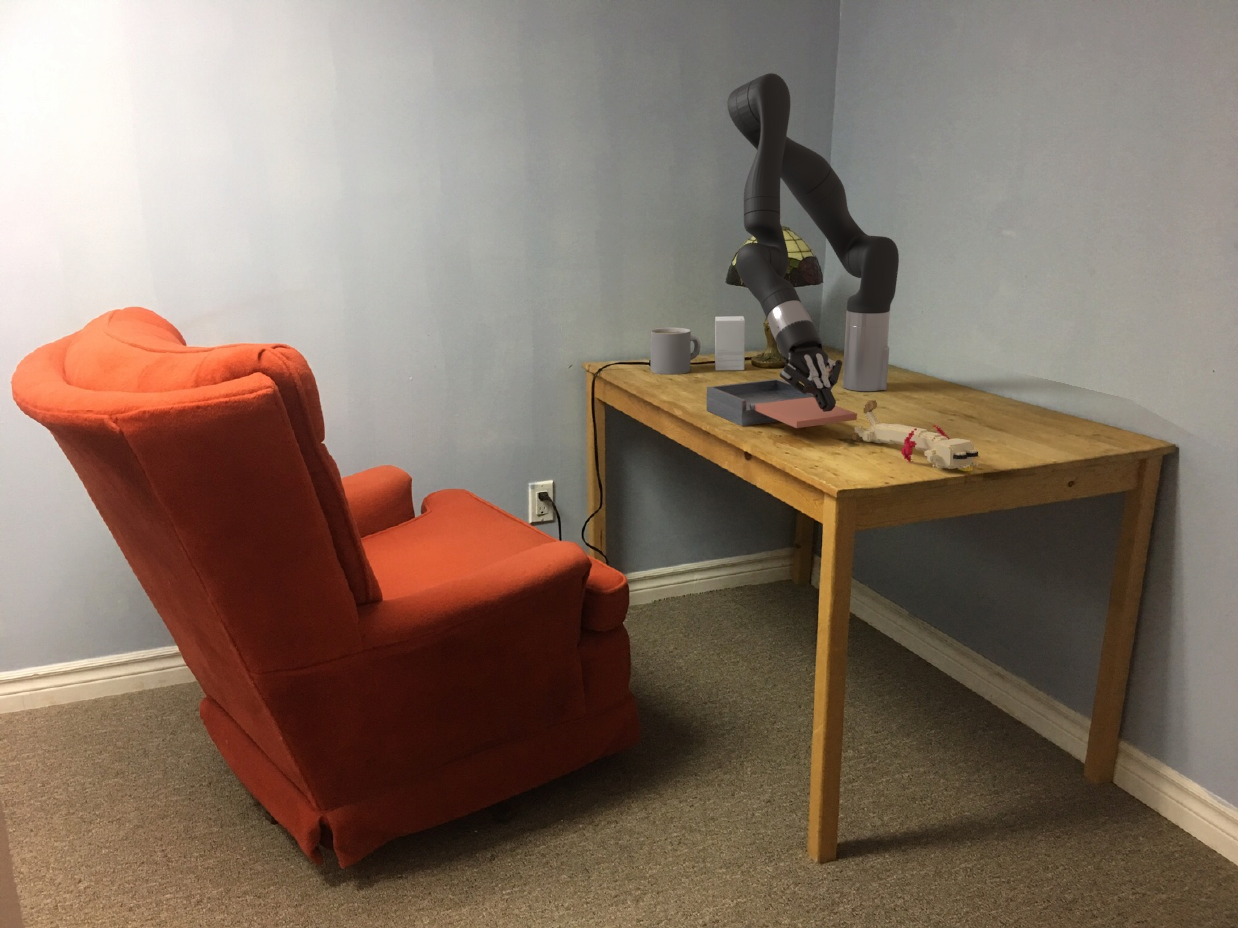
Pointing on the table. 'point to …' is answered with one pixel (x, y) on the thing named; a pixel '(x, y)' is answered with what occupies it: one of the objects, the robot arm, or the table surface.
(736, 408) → the grey open box
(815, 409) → the flat pink square board
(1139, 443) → the table surface
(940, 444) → the cream blocky figure
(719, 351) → the supplement box
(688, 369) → the coffee mug
